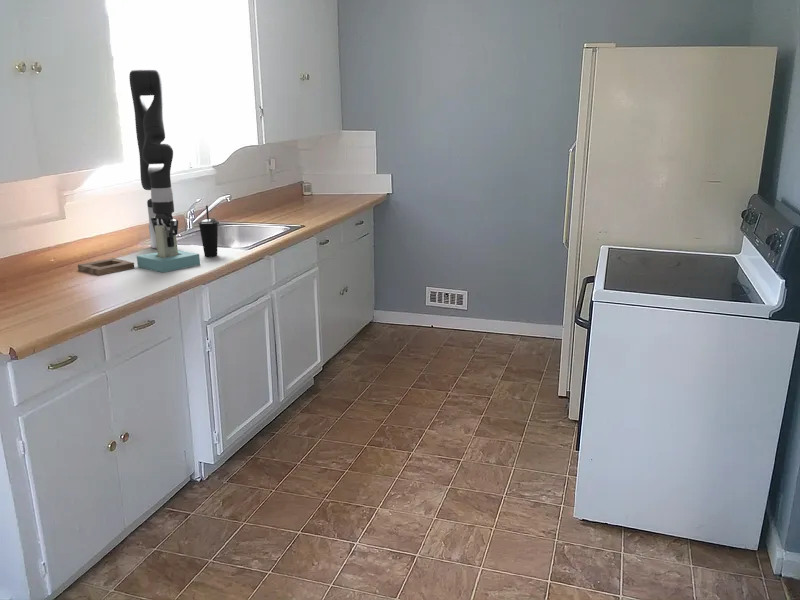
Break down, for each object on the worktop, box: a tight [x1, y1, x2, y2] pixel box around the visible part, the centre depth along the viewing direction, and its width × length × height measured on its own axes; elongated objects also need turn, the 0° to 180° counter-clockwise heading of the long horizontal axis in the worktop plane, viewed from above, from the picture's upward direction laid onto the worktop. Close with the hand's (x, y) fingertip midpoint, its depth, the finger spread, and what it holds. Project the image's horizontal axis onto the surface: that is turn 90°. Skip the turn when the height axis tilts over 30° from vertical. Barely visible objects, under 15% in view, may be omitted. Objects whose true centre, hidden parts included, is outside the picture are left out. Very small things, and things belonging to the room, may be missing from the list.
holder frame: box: [77, 257, 135, 276], centre depth 256 cm, size 14×14×2 cm
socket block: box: [136, 249, 201, 273], centre depth 261 cm, size 16×16×4 cm
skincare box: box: [155, 225, 179, 258], centre depth 259 cm, size 6×4×12 cm
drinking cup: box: [197, 205, 219, 258], centre depth 274 cm, size 8×8×20 cm
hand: (167, 245), depth 259 cm, fingers closed on skincare box, 4 cm apart
